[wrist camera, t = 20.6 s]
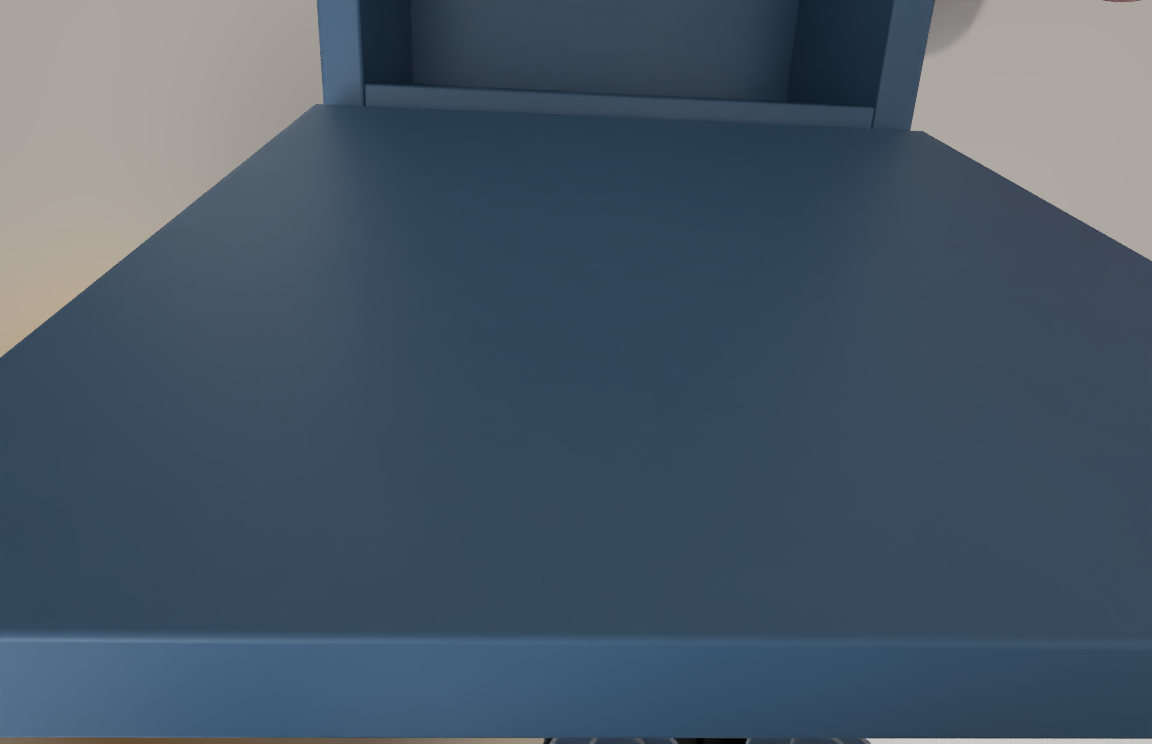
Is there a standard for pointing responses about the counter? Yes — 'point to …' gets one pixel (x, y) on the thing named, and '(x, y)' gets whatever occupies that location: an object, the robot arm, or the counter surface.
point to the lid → (587, 447)
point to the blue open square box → (632, 58)
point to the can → (1122, 0)
